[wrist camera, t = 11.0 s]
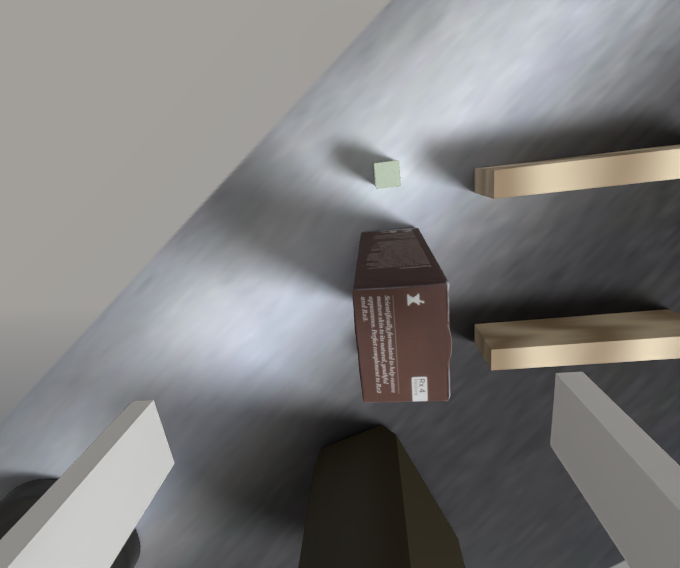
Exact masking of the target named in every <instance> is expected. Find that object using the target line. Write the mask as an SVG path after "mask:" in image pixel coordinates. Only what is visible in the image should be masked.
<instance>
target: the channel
mask: <svg viewBox="0 0 680 568" xmlns="http://www.w3.org/2000/svg"><path fill="white" fill-rule="evenodd" d="M679 178H680V144H678V145H670V146H661V147H653V148H644V149H636V150H627V151H619V152H610V153H602V154H593V155H585V156H576V157H568V158H559V159H551V160H542V161H534V162H526V163H517V164H509V165H500V166H492V167H483V168H475V193H477V194H480V195H484V196H487V197H490V198H493V199H496V198H505V197H514V196H523V195H533V194H542V193H551V192H560V191H569V190H578V189H587V188H596V187H606V186H615V185H624V184H633V183H642V182H651V181H660V180H669V179H679ZM475 344H476V346H477V347H478V349H479V351H480V352H481V354H482V356H483V358H484V359H485V361H486V363H487V364H488V366H489V368H490V369H491V370H504V369H519V368H535V367H550V366H566V365H581V364H597V363H612V362H628V361H644V360H659V359H675V358H680V314H678V313H676V312H674V311H672V310H670V309H666V310H653V311H640V312H627V313H614V314H601V315H588V316H575V317H562V318H549V319H536V320H523V321H510V322H497V323H484V324H475Z"/></svg>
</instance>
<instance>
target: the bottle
mask: <svg viewBox="0 0 680 568" xmlns="http://www.w3.org/2000/svg"><path fill="white" fill-rule="evenodd" d="M298 568H465V565H464V561H463V557H462V553H461V549H460V545H459V541H458V538H457V536H456V534H455V533H454V531H453V529H452V528H451V526H450V524H449V523H448V521H447V519H446V518H445V516H444V514H443V513H442V511H441V509H440V508H439V506H438V504H437V503H436V501H435V499H434V498H433V496H432V494H431V493H430V491H429V489H428V487H427V486H426V484H425V482H424V481H423V479H422V477H421V476H420V474H419V472H418V471H417V469H416V467H415V466H414V464H413V462H412V461H411V459H410V457H409V456H408V454H407V452H406V451H405V449H404V447H403V446H402V444H401V442H400V441H399V439H398V437H397V436H396V434H394V433H393V432H391V431H390V430H388V429H387V428H385V427H384V426H382V425H380V426H378V427H375V428H372V429H370V430H367V431H365V432H362V433H360V434H357V435H355V436H352V437H349V438H347V439H344V440H342V441H339V442H337V443H334V444H332V445H329V446H327V447H324V448H322V450H321V452H320V455H319V457H318V460H317V462H316V464H315V469H314V475H313V481H312V487H311V493H310V499H309V505H308V512H307V518H306V524H305V530H304V536H303V542H302V548H301V554H300V561H299V567H298Z"/></svg>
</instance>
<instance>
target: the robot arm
mask: <svg viewBox="0 0 680 568" xmlns="http://www.w3.org/2000/svg"><path fill="white" fill-rule="evenodd" d="M550 446H551V447H552V449H553V450H554V452H555V453H556V455H557V456H558V458H559V459H560V461H561V463H562V464H563V466H564V467H565V469H566V470H567V472H568V473H569V475H570V476H571V478H572V479H573V481H574V482H575V484H576V485H577V487H578V488H579V490H580V492H581V493H582V495H583V496H584V498H585V499H586V501H587V502H588V504H589V505H590V507H591V508H592V510H593V511H594V513H595V514H596V516H597V517H598V519H599V521H600V522H601V524H602V525H603V527H604V528H605V530H606V531H607V533H608V534H609V536H610V537H611V539H612V540H613V542H614V543H615V545H616V546H617V548H618V550H619V551H620V553H621V554H622V556H623V557H624V559H625V560H626V562H627V563H628V565H629V566H630V568H680V466H679V465H678V464H677V463H676V462H675V461H674V460H673V459H672V458H671V457H670V456H669V455H668V454H667V453H666V452H665V451H664V450H663V449H662V448H661V447H660V446H659V445H658V444H656V443H655V442H654V441H653V440H652V439H651V438H650V437H649V436H648V435H647V434H646V433H645V432H644V431H643V430H642V429H641V428H640V427H639V426H638V425H637V424H636V423H635V422H634V421H633V420H632V419H631V418H630V417H629V416H628V415H626V414H625V413H624V412H623V411H622V410H621V409H620V408H619V407H618V406H617V405H616V404H615V403H614V402H613V401H612V400H611V399H610V398H609V397H608V396H607V395H606V394H605V393H604V392H603V391H602V390H601V389H600V388H599V387H598V386H597V385H595V384H594V383H593V382H592V381H591V380H590V379H589V378H588V377H587V376H586V375H585V374H584V373H583V372H570V373H556V380H555V393H554V405H553V417H552V430H551V442H550ZM174 464H175V463H174V460H173V457H172V454H171V451H170V448H169V445H168V442H167V439H166V436H165V433H164V429H163V426H162V423H161V420H160V417H159V414H158V411H157V408H156V405H155V402H154V400H143V401H132V402H131V403H130V404H129V406H128V407H127V408H126V409H125V410H124V411H123V412H122V413H121V414H120V415H119V416H118V417H117V418H116V419H115V420H114V421H113V422H112V423H111V424H110V425H109V427H108V428H107V429H106V430H105V431H104V432H103V433H102V434H101V435H100V436H99V437H98V438H97V439H96V440H95V441H94V442H93V443H92V444H91V445H90V446H89V447H88V449H87V450H86V451H85V452H84V453H83V454H82V455H81V456H80V457H79V458H78V459H77V460H76V461H75V462H74V463H73V464H72V465H71V466H70V467H69V468H68V469H67V471H66V472H65V473H64V474H63V475H62V476H61V477H60V478H59V479H58V480H38V481H32V482H28V483H25V484H22V485H20V486H18V487H17V488H15V489H14V490H12V491H11V492H10V493H9V494H8V495H7V496H6V497H5V498H4V499H3V500H2V501H1V502H0V568H134V566H135V565H136V563H137V561H138V558H139V555H140V541H139V537H138V534H137V532H136V529H135V526H136V525H137V523H138V522H139V520H140V518H141V517H142V515H143V514H144V512H145V510H146V509H147V507H148V505H149V504H150V502H151V501H152V499H153V497H154V496H155V494H156V493H157V491H158V489H159V488H160V486H161V485H162V483H163V481H164V480H165V478H166V476H167V475H168V473H169V472H170V470H171V468H172V467H173V465H174Z"/></svg>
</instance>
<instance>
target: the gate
mask: <svg viewBox="0 0 680 568" xmlns="http://www.w3.org/2000/svg"><path fill="white" fill-rule="evenodd" d="M373 167H374V179H375V187H376V189H380V188H388V187H397V186H401V183H400V167H399V160H393V161H385V162H377V163H373Z"/></svg>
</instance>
